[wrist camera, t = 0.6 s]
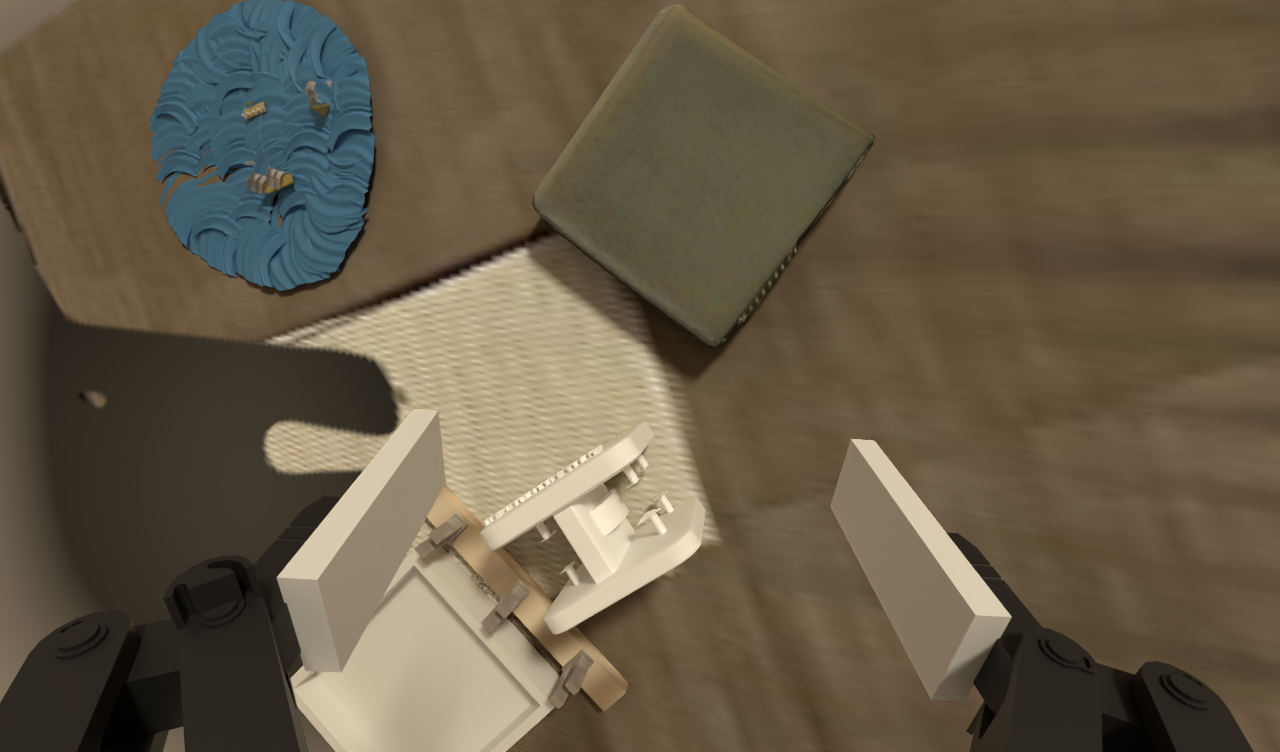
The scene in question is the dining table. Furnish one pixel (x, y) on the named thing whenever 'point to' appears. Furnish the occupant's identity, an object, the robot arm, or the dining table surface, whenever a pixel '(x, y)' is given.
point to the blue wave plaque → (267, 143)
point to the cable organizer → (601, 529)
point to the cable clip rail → (523, 603)
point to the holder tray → (430, 672)
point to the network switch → (698, 175)
